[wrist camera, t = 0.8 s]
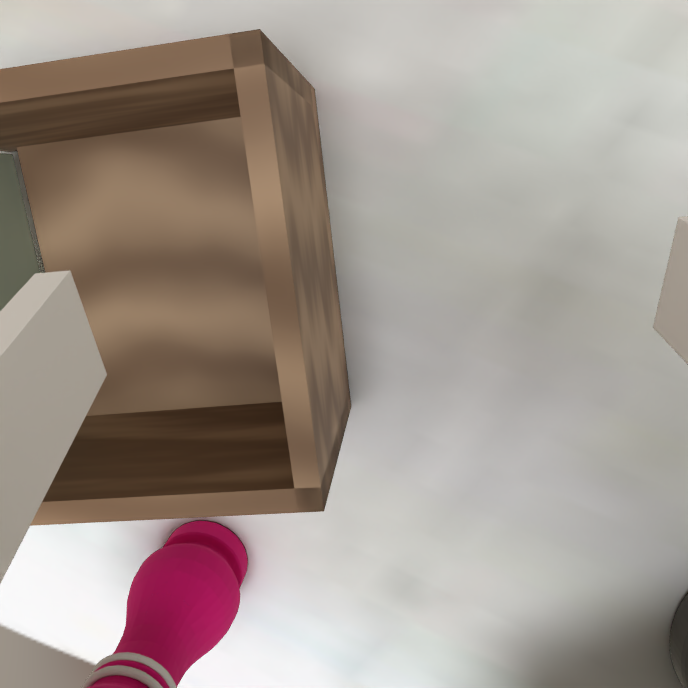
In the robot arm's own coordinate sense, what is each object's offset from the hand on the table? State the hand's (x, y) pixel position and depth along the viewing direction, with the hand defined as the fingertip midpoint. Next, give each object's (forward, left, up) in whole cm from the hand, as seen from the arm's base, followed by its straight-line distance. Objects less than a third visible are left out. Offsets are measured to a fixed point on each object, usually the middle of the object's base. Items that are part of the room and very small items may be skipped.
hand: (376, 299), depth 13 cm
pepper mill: (-22, +16, -25) cm, 37 cm away
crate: (-1, +14, -24) cm, 28 cm away
